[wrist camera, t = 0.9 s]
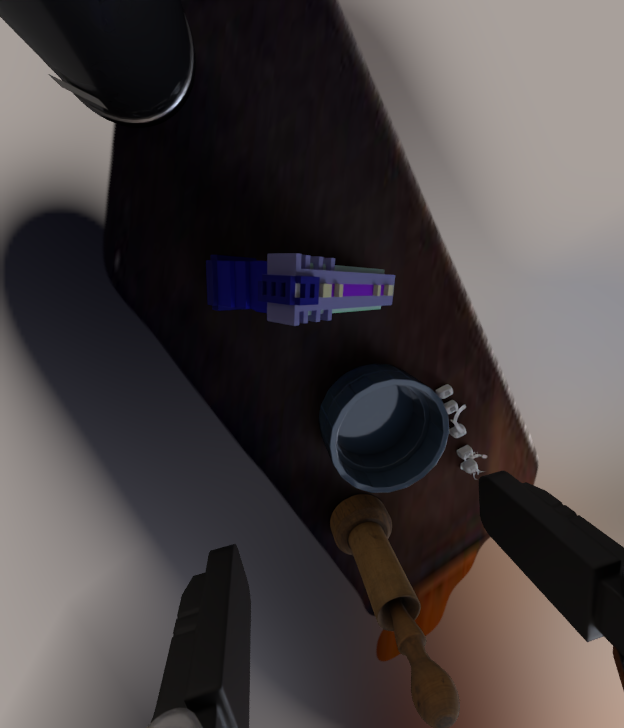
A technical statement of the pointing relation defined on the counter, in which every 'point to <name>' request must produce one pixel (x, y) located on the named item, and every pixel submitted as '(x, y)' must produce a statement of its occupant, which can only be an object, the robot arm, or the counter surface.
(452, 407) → the figurines set
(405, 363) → the counter surface
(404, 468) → the blue bowl
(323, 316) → the toy gun
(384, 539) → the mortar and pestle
